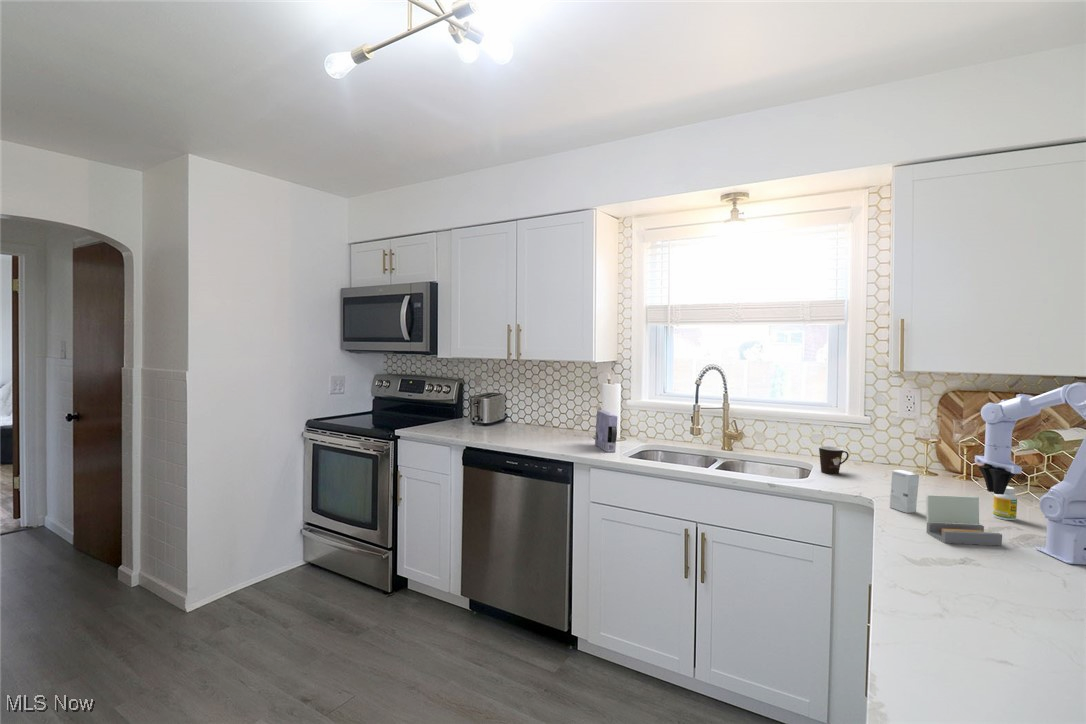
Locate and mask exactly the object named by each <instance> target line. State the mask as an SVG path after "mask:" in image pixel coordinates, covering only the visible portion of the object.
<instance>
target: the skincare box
mask: <svg viewBox="0 0 1086 724" xmlns="http://www.w3.org/2000/svg"><path fill="white" fill-rule="evenodd" d="M891 473H892V474H891V485H890V497H889V508H891V509H894V510H897V511H900V512H903V513H906V514H909V513H910V514H912V513H917V504H918V503H917V502H918V492H919V480H920V474H919V473H915V472H913V471H912V472H911V471H908V470H904V469H897V470H896V469H895V470H892V471H891Z"/></svg>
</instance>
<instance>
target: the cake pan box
mask: <svg viewBox="0 0 1086 724" xmlns="http://www.w3.org/2000/svg"><path fill="white" fill-rule="evenodd" d="M595 419H596V420H595V421H596V422H595V435H594V436H595V438H594V445H595V446H596V447H598V448H599V449H600V450H602V451H604V452H605V453H616V446H617V443H616V442H617V439H618V438H617V436H618V416H617V415H615V414H613V413H612V412H608V411H607V410H600V409H598V410H596V418H595Z"/></svg>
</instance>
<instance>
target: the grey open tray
mask: <svg viewBox="0 0 1086 724" xmlns="http://www.w3.org/2000/svg"><path fill="white" fill-rule="evenodd" d="M942 529H963V530H981V531H983V532H967V531H946V530H942ZM941 532H942V534H941ZM927 533H928V535H929V534H930V535H929V536H932V538H934V539H936V538H937V540H938V539H939V540H938V541H940V540H941V542H942V541H943V542H942V543H944V544H951V543H964V544H963V545H972V544H980V545H979V546H992V545H998V546H997V547H1001V546H1002V545H1003V544H1002V543H1003V534H1002V533H1000V532H989V531H988V532H986V531H985V525H983V524H961V523H939V522H927V521H926V534H927ZM1002 547H1003V546H1002Z"/></svg>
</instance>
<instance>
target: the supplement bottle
mask: <svg viewBox="0 0 1086 724" xmlns="http://www.w3.org/2000/svg"><path fill="white" fill-rule="evenodd" d="M1015 492H1016V489H1015V487H1012V486H1008V485H1007V487H1006V490H1005V492H1004V495H1001V494H994V493H993V508H992V516H993V517H994V518H996V519H998V518H999V520H1002V519H1003V520H1004V521H1008V520H1014V521H1016V520H1017V510H1018V509H1017V506H1018V496H1017V495H1016V494H1015Z"/></svg>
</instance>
